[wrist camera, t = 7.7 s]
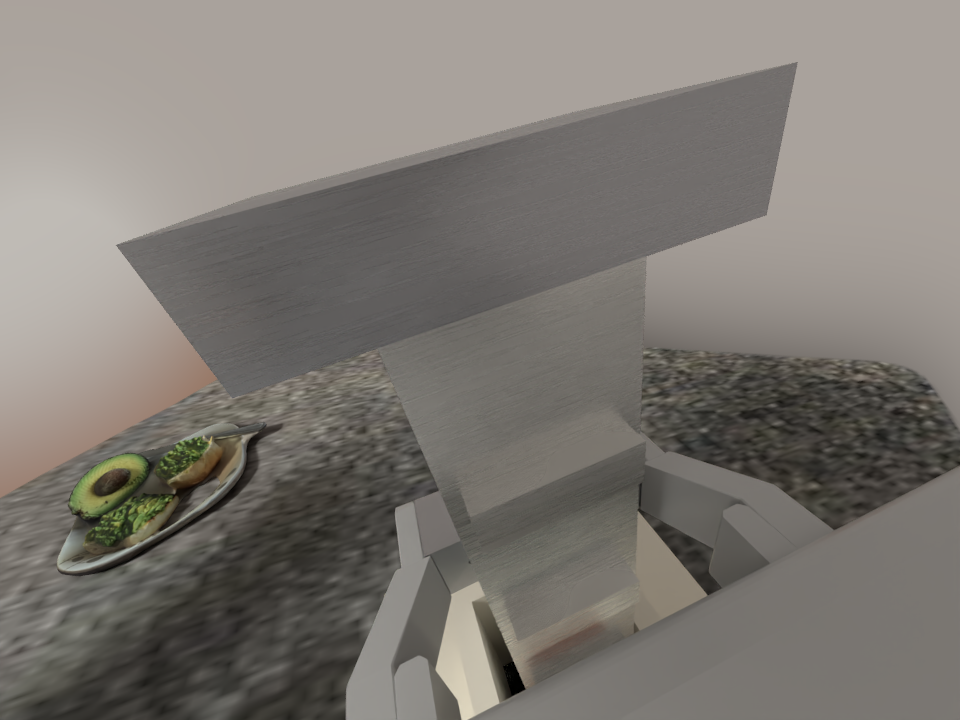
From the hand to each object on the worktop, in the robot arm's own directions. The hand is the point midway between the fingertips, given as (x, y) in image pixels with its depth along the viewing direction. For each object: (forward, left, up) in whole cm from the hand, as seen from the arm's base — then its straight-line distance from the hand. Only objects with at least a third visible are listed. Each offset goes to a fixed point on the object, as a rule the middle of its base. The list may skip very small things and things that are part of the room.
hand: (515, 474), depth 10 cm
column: (+1, -1, -15) cm, 16 cm away
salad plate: (-45, -3, -18) cm, 48 cm away
